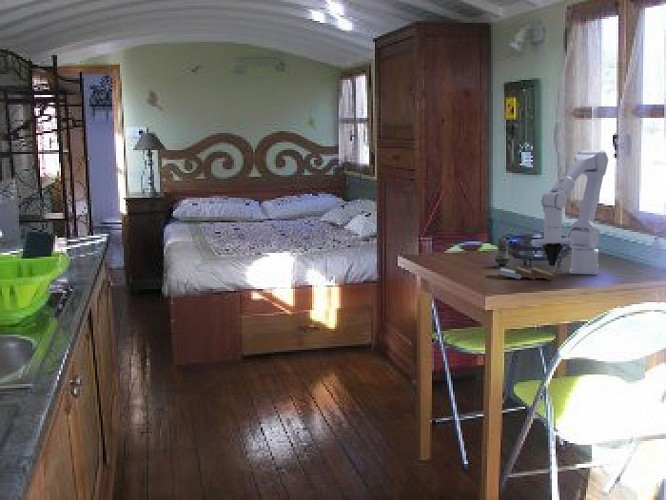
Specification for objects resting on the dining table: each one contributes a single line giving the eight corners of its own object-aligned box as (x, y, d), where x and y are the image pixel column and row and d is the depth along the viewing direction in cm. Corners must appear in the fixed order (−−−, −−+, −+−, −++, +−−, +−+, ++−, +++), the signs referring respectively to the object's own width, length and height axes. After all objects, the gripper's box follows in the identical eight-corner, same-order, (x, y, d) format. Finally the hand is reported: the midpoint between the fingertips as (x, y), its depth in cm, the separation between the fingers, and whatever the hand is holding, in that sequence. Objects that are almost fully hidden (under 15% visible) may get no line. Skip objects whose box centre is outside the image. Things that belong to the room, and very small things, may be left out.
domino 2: (520, 272, 273) (500, 267, 274) (521, 274, 269) (501, 270, 270) (519, 276, 274) (499, 272, 274) (520, 279, 269) (500, 274, 270)
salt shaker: (510, 268, 290) (511, 236, 288) (494, 268, 291) (495, 236, 289) (509, 265, 296) (509, 234, 294) (493, 265, 297) (494, 234, 295)
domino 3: (536, 273, 272) (517, 266, 273) (536, 275, 268) (517, 268, 269) (534, 277, 272) (515, 270, 274) (534, 279, 268) (515, 272, 269)
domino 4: (552, 273, 270) (533, 267, 272) (552, 276, 266) (532, 269, 268) (551, 277, 271) (531, 271, 272) (550, 280, 267) (531, 273, 268)
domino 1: (508, 273, 275) (488, 272, 277) (507, 275, 271) (487, 274, 273) (508, 277, 275) (488, 277, 277) (507, 280, 271) (487, 279, 273)
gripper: (567, 224, 270) (566, 262, 273) (528, 225, 268) (527, 264, 271) (576, 226, 264) (575, 265, 266) (536, 228, 262) (535, 267, 264)
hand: (551, 265), depth 268 cm, fingers closed
